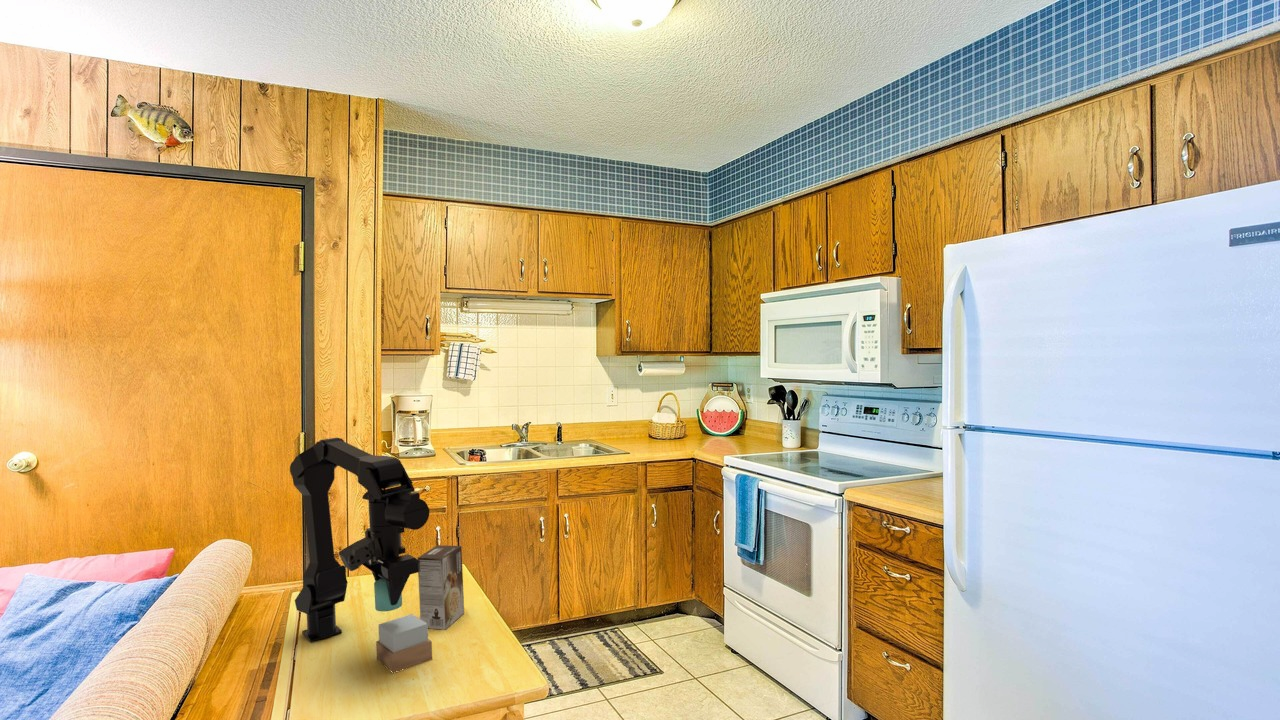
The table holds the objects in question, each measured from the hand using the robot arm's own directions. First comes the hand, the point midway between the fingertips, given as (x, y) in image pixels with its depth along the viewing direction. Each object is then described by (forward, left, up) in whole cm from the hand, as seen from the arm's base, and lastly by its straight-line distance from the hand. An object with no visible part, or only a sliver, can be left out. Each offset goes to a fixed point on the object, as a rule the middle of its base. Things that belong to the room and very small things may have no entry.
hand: (388, 601), depth 134 cm
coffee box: (-11, +16, -13) cm, 24 cm away
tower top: (+1, +2, -9) cm, 9 cm away
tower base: (+1, +2, -13) cm, 13 cm away
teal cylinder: (0, 0, -1) cm, 1 cm away
